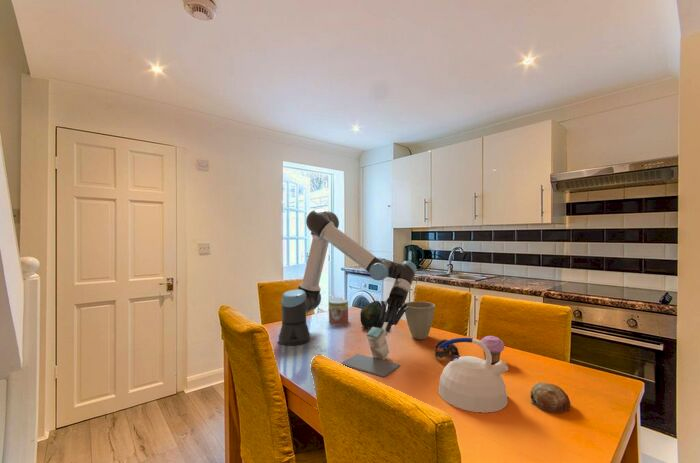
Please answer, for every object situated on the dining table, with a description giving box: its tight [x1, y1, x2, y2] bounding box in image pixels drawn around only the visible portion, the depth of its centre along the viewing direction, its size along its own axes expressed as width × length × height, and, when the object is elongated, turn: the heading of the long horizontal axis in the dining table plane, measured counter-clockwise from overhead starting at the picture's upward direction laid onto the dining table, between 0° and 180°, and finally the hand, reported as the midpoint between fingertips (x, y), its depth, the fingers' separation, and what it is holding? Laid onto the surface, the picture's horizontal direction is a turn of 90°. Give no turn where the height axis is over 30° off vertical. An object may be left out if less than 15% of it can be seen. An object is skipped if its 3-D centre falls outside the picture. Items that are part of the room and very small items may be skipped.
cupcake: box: [479, 335, 505, 364], centre depth 126 cm, size 9×9×10 cm
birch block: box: [366, 327, 390, 361], centre depth 130 cm, size 5×5×12 cm
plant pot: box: [404, 301, 436, 340], centre depth 157 cm, size 15×15×16 cm
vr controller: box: [433, 338, 461, 359], centre depth 132 cm, size 12×10×8 cm
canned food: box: [328, 298, 349, 326], centre depth 186 cm, size 11×11×12 cm
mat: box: [340, 353, 401, 378], centre depth 125 cm, size 20×12×1 cm, turn 54°
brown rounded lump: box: [530, 381, 571, 414], centre depth 95 cm, size 10×10×8 cm
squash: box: [359, 300, 386, 329], centre depth 175 cm, size 14×15×15 cm
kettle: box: [438, 337, 509, 414], centre depth 101 cm, size 20×21×18 cm
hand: (381, 337), depth 132 cm, fingers closed
